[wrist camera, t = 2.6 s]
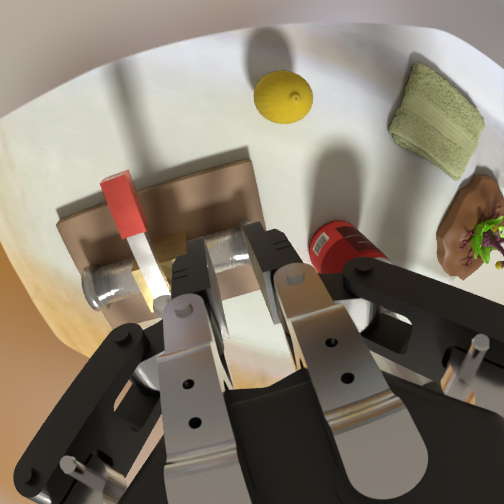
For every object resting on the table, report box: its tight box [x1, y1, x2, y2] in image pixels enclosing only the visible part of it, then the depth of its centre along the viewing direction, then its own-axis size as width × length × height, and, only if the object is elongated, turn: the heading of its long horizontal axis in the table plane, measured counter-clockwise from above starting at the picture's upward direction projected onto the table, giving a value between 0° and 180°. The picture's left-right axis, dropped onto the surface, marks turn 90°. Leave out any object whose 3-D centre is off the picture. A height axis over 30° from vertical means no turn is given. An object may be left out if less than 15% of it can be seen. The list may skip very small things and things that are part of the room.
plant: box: [436, 174, 504, 280], centre depth 43 cm, size 20×20×11 cm
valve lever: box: [100, 169, 171, 318], centre depth 26 cm, size 14×3×2 cm, turn 12°
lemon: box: [254, 71, 313, 124], centre depth 27 cm, size 6×6×8 cm
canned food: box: [309, 221, 394, 274], centre depth 37 cm, size 8×8×11 cm
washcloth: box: [389, 62, 485, 181], centre depth 35 cm, size 13×18×3 cm
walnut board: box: [56, 159, 266, 329], centre depth 37 cm, size 24×17×2 cm
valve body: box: [81, 218, 252, 312], centre depth 33 cm, size 20×6×9 cm, turn 102°
